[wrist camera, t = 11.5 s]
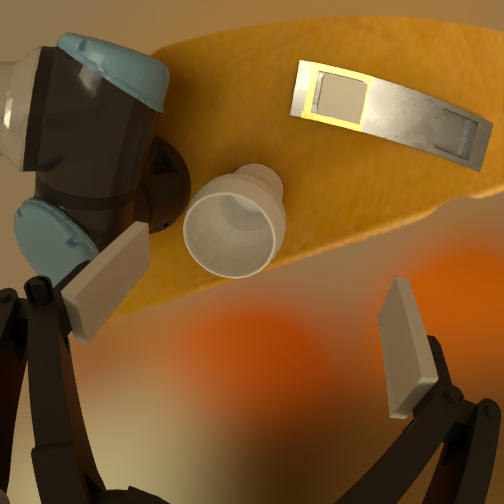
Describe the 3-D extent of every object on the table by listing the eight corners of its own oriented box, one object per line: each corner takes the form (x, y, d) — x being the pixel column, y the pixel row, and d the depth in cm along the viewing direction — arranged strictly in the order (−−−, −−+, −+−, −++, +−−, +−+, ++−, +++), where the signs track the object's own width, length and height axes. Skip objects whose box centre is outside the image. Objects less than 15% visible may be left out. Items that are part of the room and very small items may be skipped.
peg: (316, 107, 37) (316, 114, 27) (322, 77, 35) (324, 72, 25) (347, 114, 36) (359, 125, 26) (354, 84, 34) (368, 83, 24)
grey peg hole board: (292, 113, 38) (290, 115, 36) (301, 61, 35) (299, 59, 32) (470, 166, 36) (480, 172, 33) (483, 120, 32) (493, 123, 30)
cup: (219, 149, 43) (175, 181, 30) (297, 157, 41) (287, 193, 28) (218, 220, 48) (180, 274, 35) (290, 229, 46) (276, 290, 34)
